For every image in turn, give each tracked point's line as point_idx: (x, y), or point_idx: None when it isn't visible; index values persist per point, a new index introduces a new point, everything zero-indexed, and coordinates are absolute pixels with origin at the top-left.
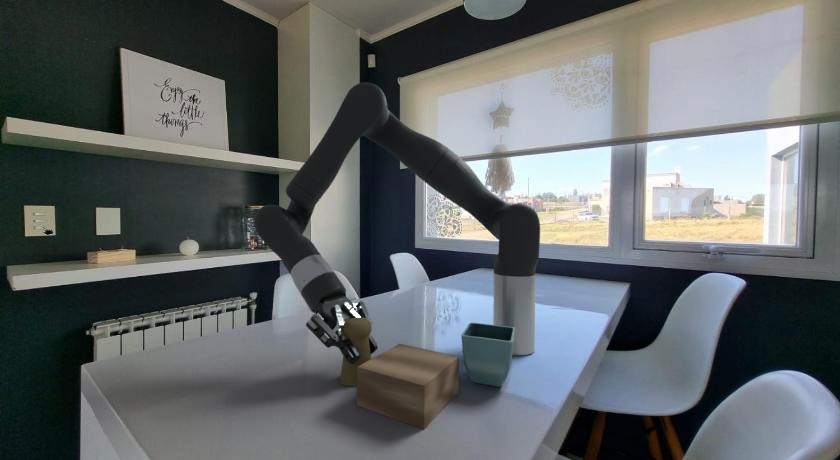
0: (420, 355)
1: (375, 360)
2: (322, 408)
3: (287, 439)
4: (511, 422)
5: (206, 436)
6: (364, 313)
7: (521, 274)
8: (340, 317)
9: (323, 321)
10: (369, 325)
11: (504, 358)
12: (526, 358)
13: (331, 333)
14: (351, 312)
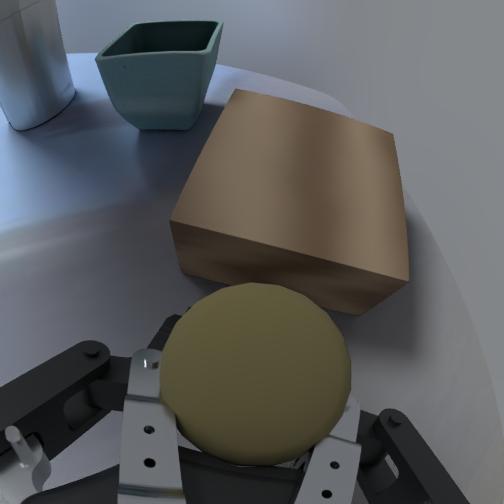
0: (260, 145)
1: (350, 248)
2: (394, 380)
3: (467, 365)
4: (292, 100)
5: (486, 471)
6: (48, 396)
7: None
8: (323, 486)
9: (435, 498)
10: (258, 283)
11: (217, 51)
12: (84, 89)
13: (409, 436)
14: (172, 471)
